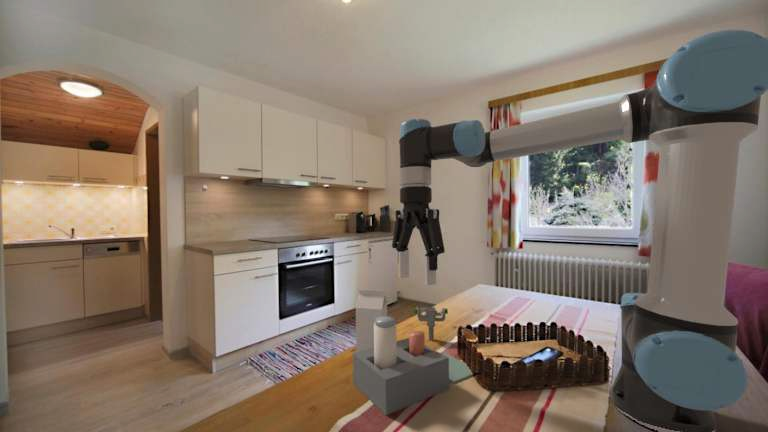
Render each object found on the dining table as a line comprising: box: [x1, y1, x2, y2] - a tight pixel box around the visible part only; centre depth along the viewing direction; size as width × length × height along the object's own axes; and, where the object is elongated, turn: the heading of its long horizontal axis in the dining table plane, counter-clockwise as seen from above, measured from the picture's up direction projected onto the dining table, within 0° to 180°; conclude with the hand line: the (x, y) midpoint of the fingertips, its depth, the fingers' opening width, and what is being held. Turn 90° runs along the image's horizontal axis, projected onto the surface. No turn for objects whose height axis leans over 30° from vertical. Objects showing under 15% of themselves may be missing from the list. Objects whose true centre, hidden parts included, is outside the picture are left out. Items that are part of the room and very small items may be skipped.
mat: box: [442, 352, 474, 384], centre depth 79 cm, size 12×9×1 cm
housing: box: [352, 337, 450, 416], centre depth 71 cm, size 14×17×7 cm
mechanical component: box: [413, 306, 448, 342], centre depth 97 cm, size 3×10×10 cm, turn 89°
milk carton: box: [355, 289, 388, 353], centre depth 84 cm, size 7×7×19 cm
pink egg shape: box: [408, 330, 426, 357], centre depth 73 cm, size 4×4×8 cm
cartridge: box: [374, 315, 397, 370], centre depth 69 cm, size 5×5×16 cm
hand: (416, 280), depth 74 cm, fingers open, 9 cm apart
